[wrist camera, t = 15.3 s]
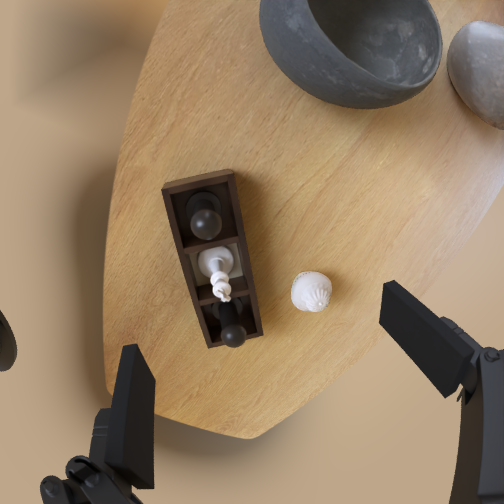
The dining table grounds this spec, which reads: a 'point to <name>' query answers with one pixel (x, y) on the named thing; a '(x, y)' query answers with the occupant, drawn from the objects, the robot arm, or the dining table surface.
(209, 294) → the rack
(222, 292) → the chess piece
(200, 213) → the ebony piece
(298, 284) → the muffin
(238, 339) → the ebony piece
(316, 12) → the bowl
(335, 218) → the dining table surface
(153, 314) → the dining table surface
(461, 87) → the vase
